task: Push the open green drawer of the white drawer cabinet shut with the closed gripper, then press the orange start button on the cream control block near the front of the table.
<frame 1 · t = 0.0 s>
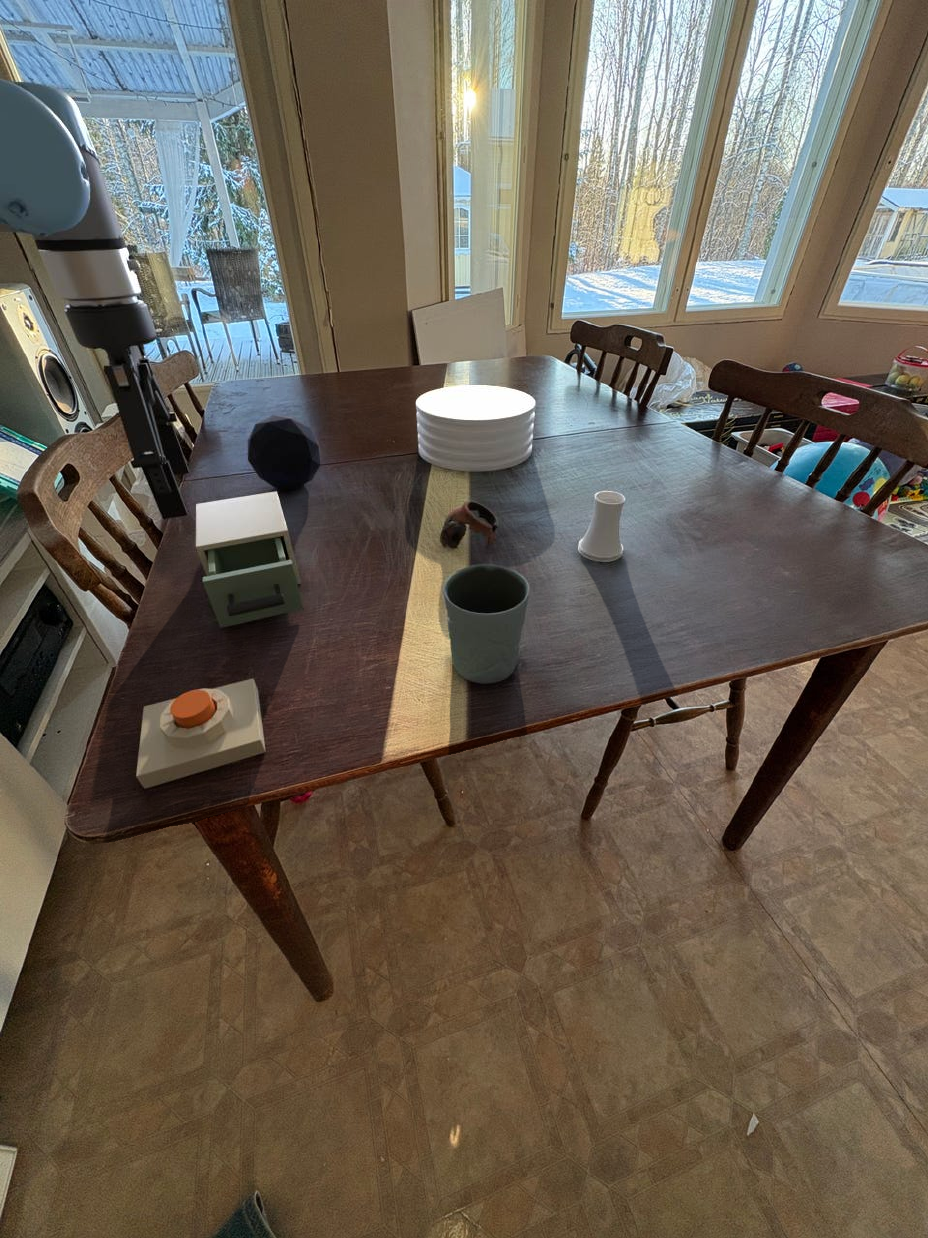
hand: (177, 493, 66), 18 cm above the table, tool pointing down, fingers open, 13 cm apart
plate stack: (475, 450, 127), on the table
vase: (599, 551, 89), on the table
white drawer cabinet: (255, 568, 85), on the table
brown curved piece: (464, 545, 91), on the table
start button: (193, 708, 55), point 4 cm above the table, slide at 0.1 cm
green drawer: (253, 578, 74), point 5 cm above the table, slide at 7.0 cm
control block: (206, 735, 58), on the table
decorative orb: (292, 485, 111), on the table
green cup: (484, 663, 67), on the table
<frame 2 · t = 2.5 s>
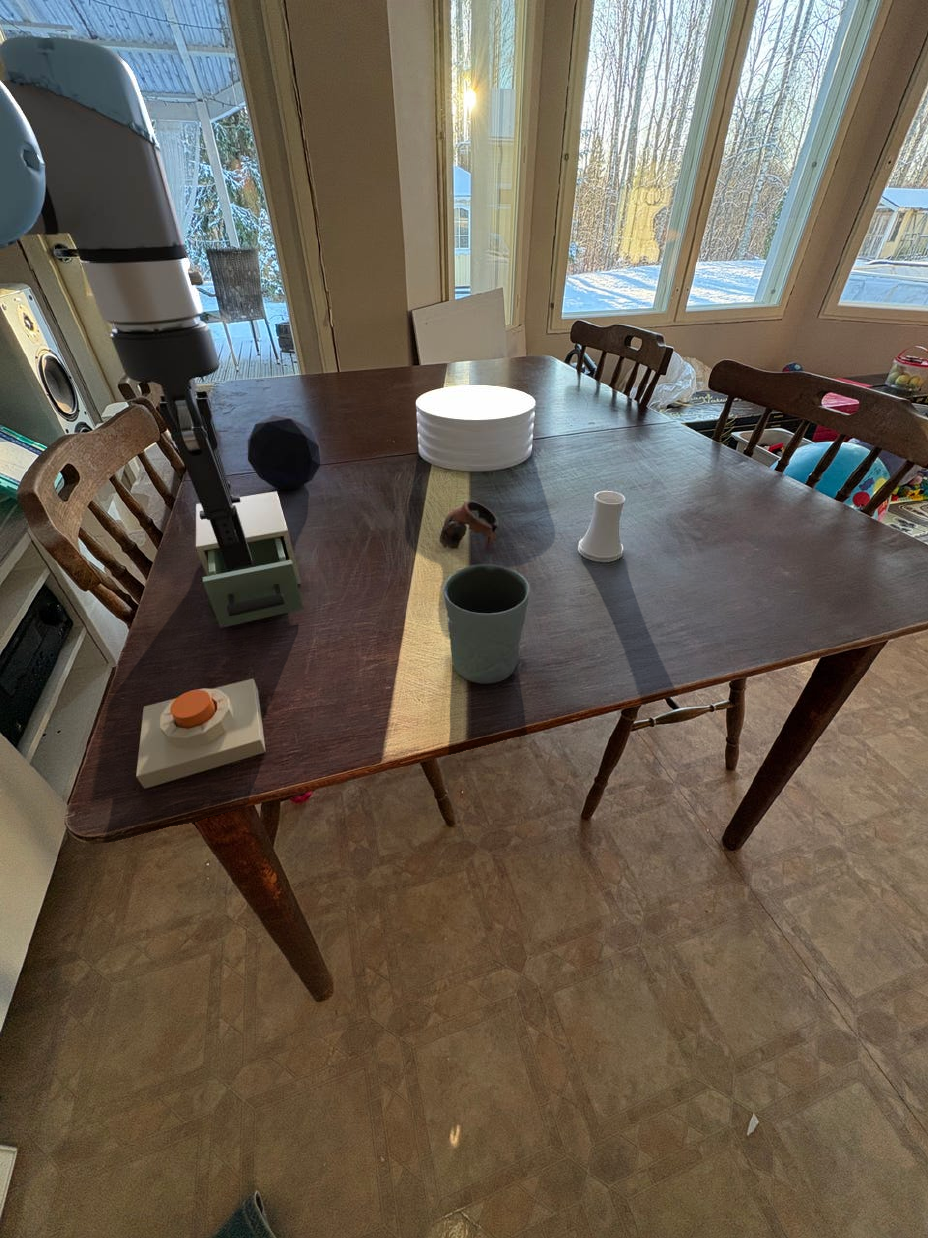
hand: (239, 563, 57), 16 cm above the table, tool pointing down, fingers closed
nothing on the table moved.
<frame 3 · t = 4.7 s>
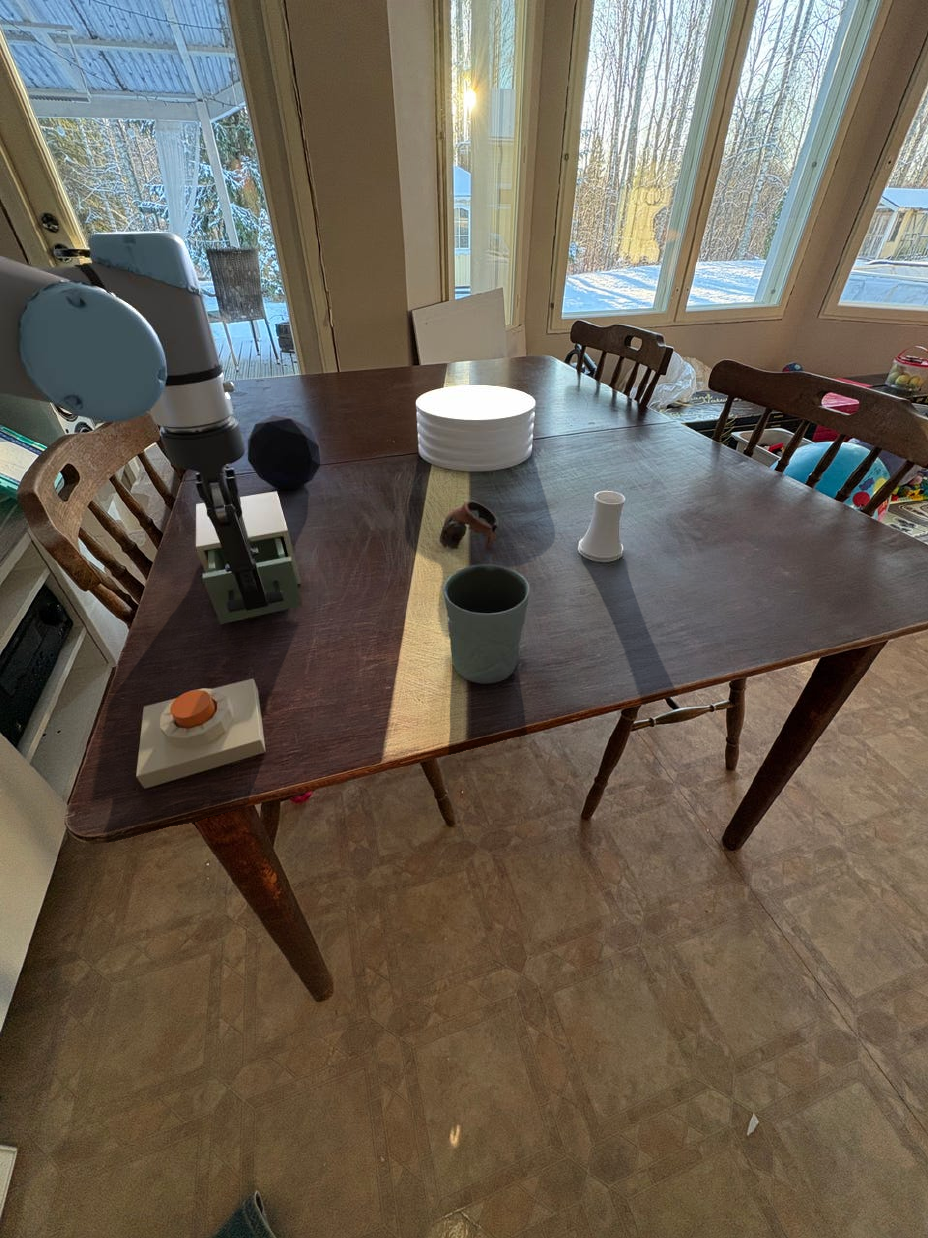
hand: (257, 605, 67), 6 cm above the table, tool pointing down, fingers closed
green drawer: (252, 575, 75), point 5 cm above the table, slide at 6.1 cm, touching gripper
everything else where it was.
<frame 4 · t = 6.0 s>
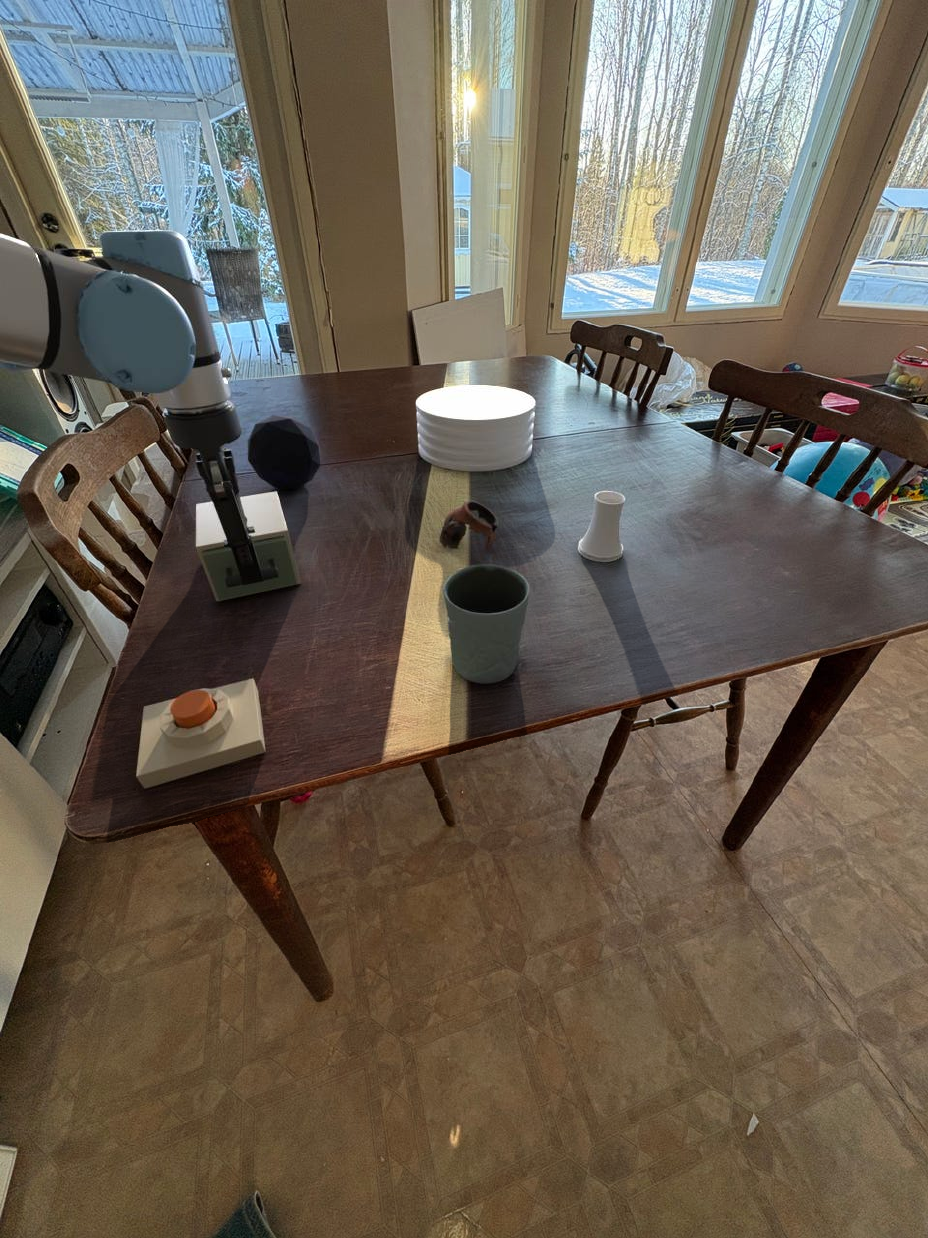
hand: (253, 580, 71), 6 cm above the table, tool pointing down, fingers closed
green drawer: (249, 555, 79), point 5 cm above the table, slide at 0.0 cm, touching white drawer cabinet, gripper
everything else where it was.
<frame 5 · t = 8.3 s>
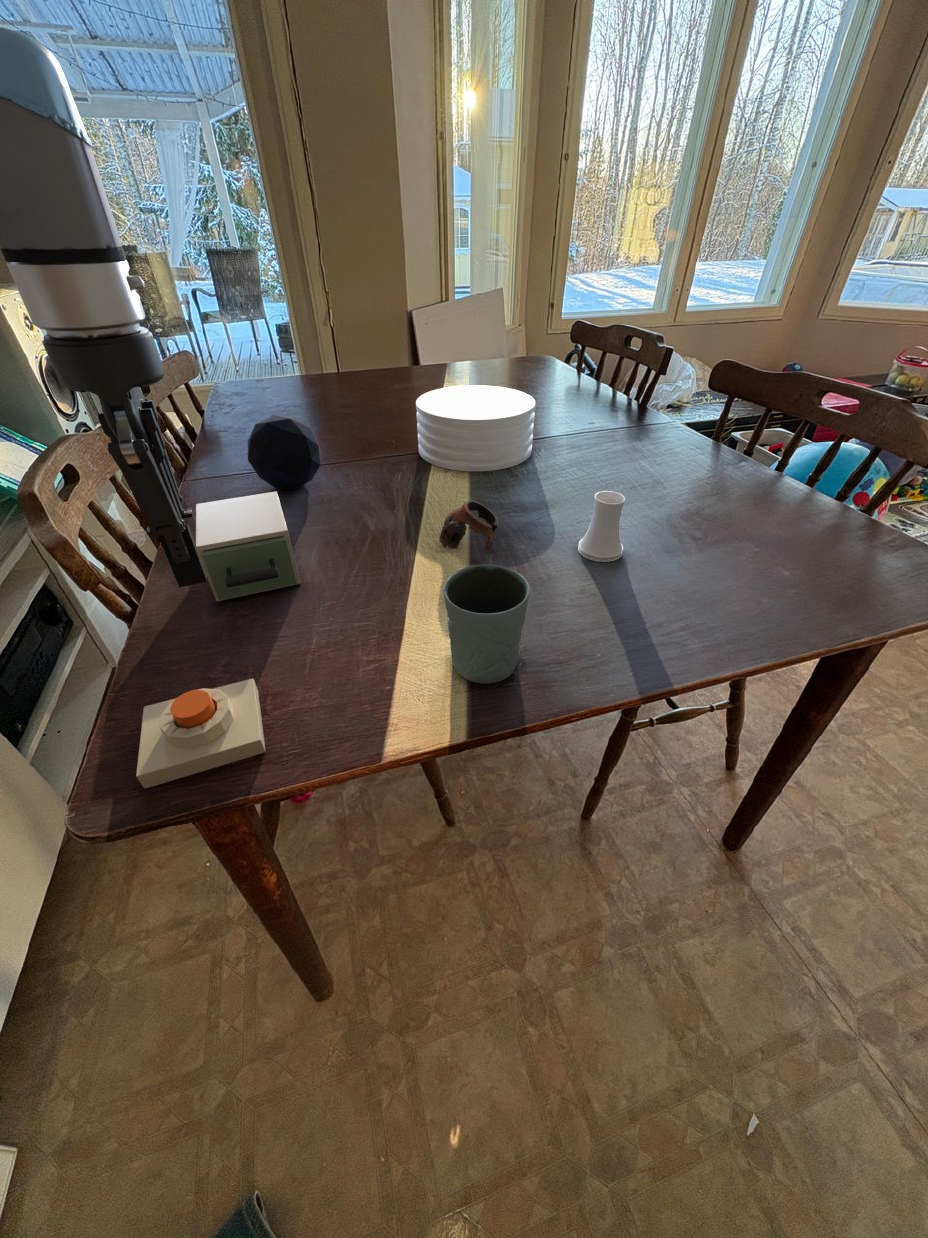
hand: (193, 580, 54), 16 cm above the table, tool pointing down, fingers closed
green drawer: (249, 555, 79), point 5 cm above the table, slide at 0.0 cm
everything else where it was.
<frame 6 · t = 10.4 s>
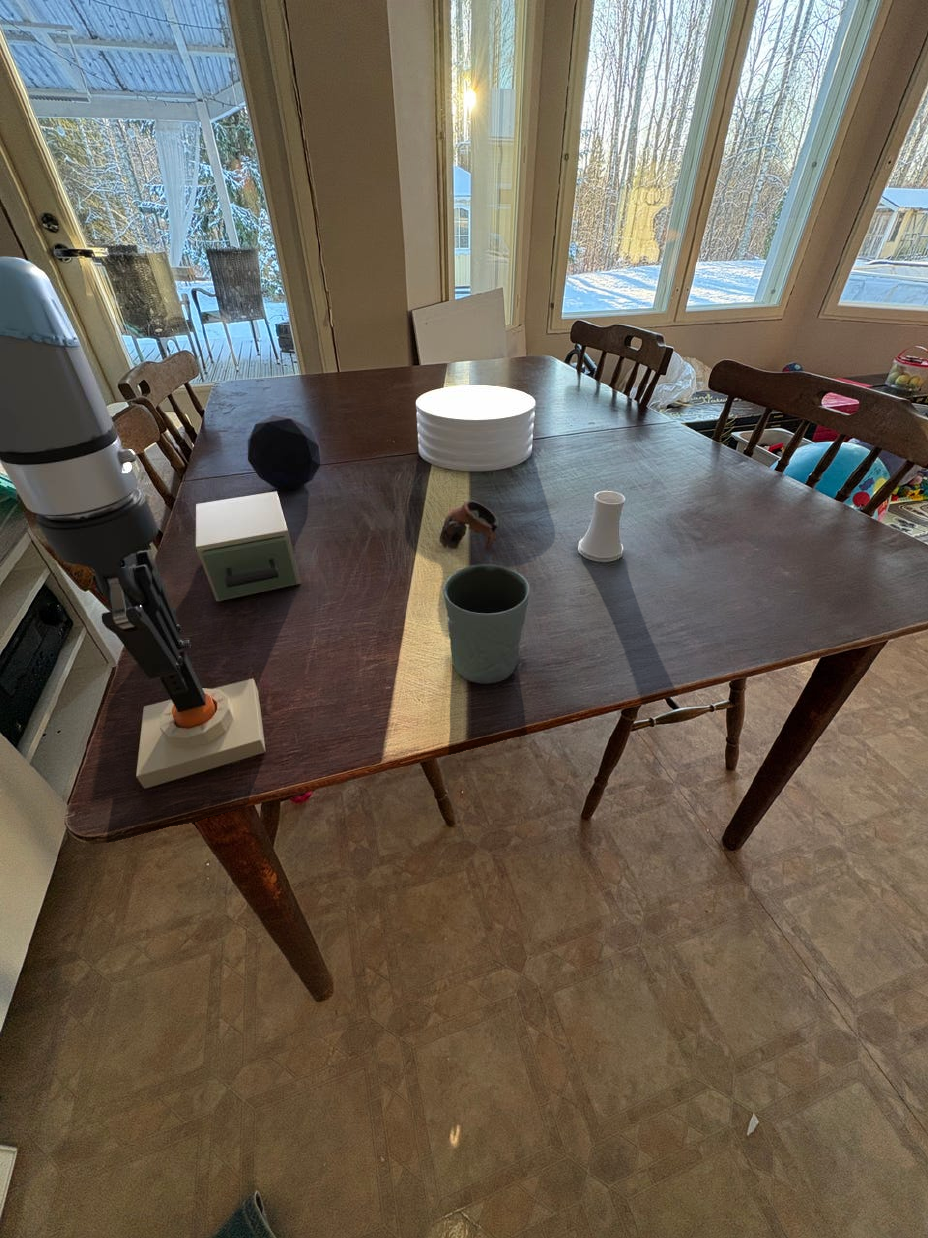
hand: (192, 703, 55), 5 cm above the table, tool pointing down, fingers closed
start button: (194, 711, 55), point 4 cm above the table, slide at -0.3 cm, touching gripper
everything else where it was.
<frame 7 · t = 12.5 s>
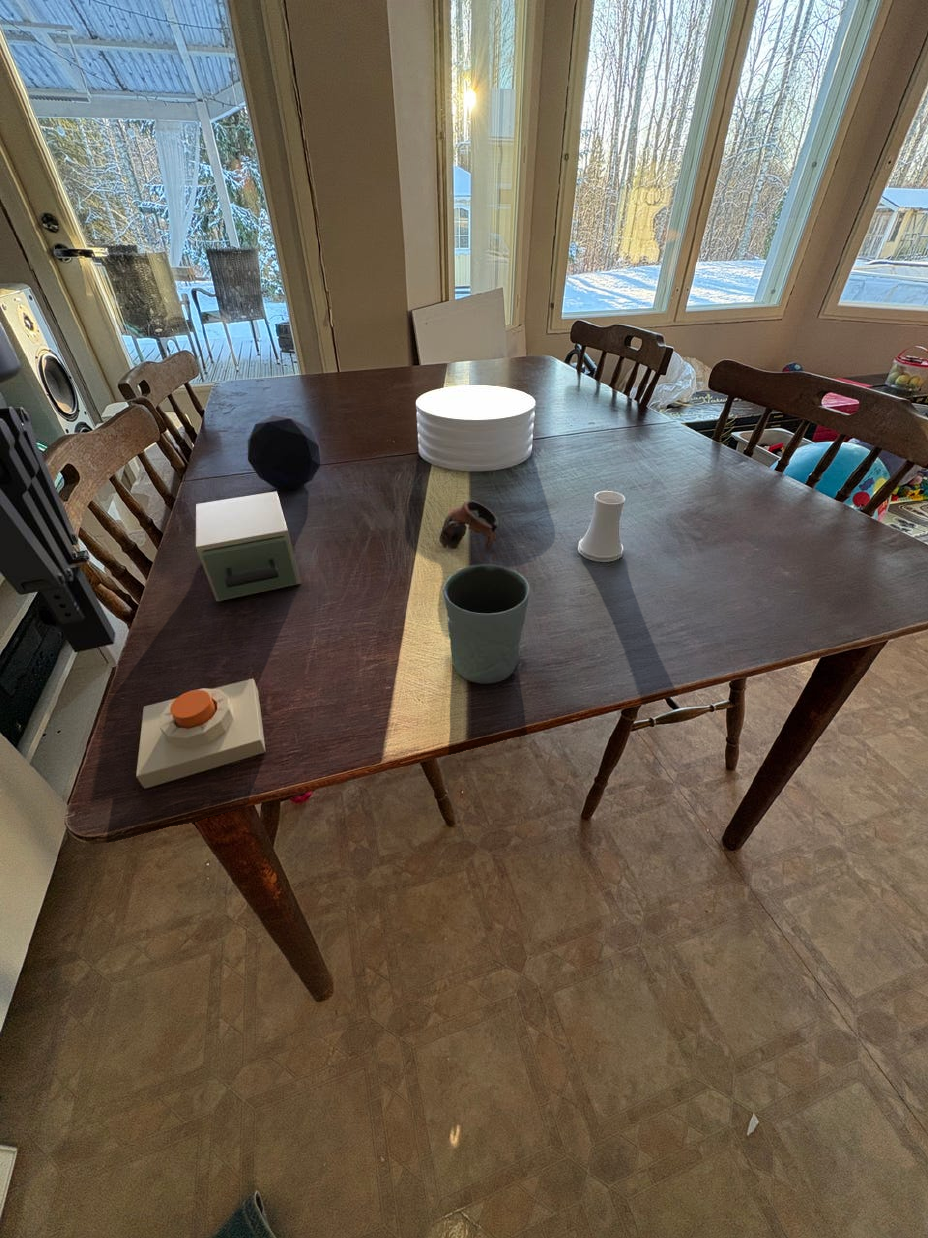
hand: (95, 642, 41), 19 cm above the table, tool pointing down, fingers closed
start button: (193, 708, 55), point 4 cm above the table, slide at 0.1 cm
everything else where it was.
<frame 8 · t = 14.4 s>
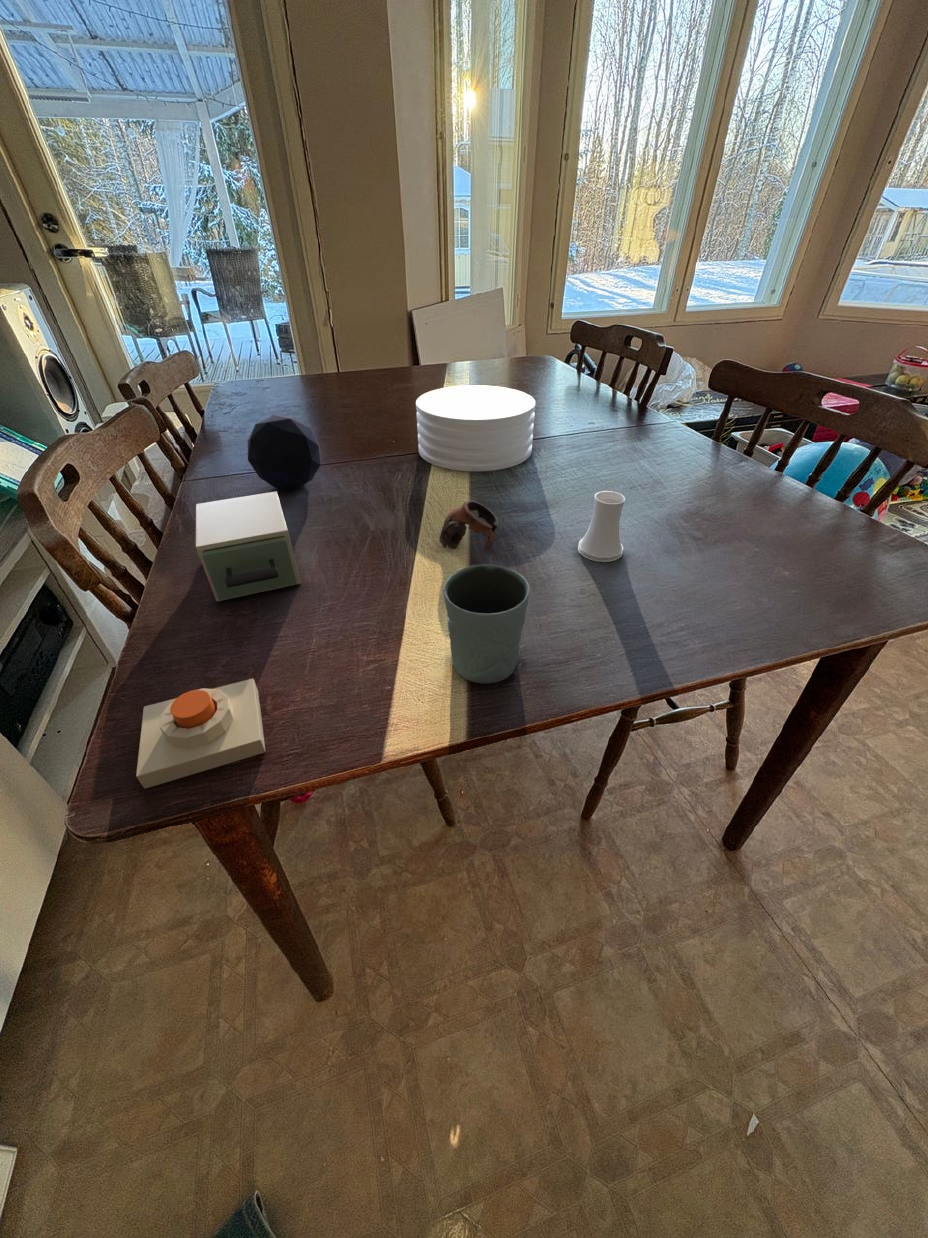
nothing on the table moved.
at the end: green drawer slide at 0.0 cm; start button pushed in 1.0 cm at the most during the clip, back to where it started at the end; start button slide at 0.1 cm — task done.
